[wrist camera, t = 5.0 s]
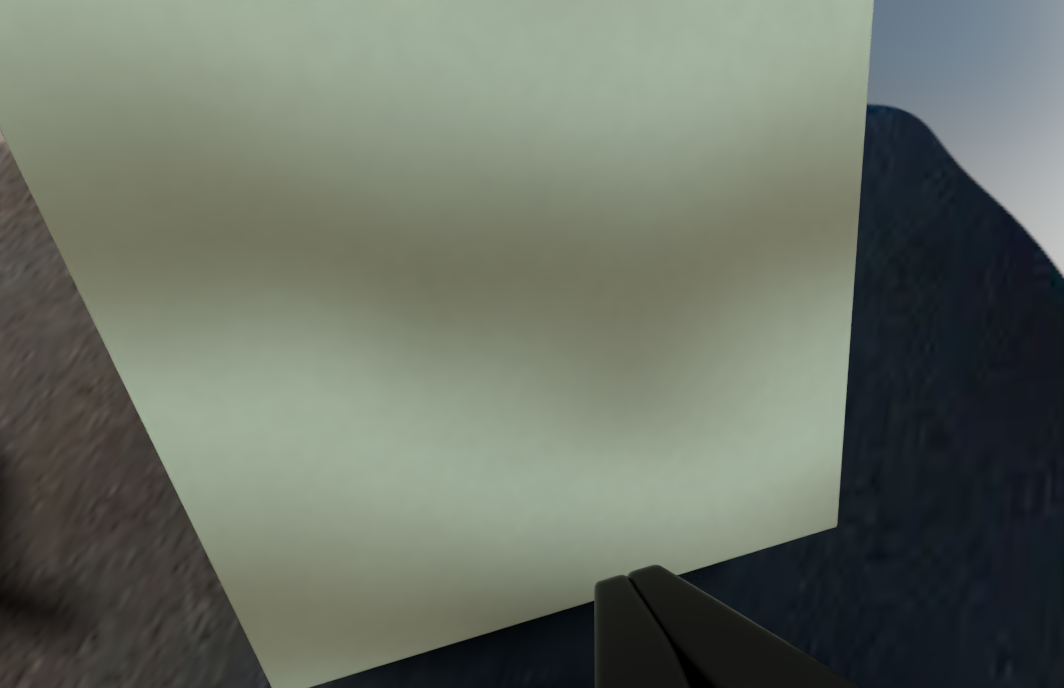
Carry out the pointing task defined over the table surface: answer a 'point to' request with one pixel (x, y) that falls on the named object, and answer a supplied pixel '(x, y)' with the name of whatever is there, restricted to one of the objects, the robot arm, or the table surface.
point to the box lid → (458, 287)
